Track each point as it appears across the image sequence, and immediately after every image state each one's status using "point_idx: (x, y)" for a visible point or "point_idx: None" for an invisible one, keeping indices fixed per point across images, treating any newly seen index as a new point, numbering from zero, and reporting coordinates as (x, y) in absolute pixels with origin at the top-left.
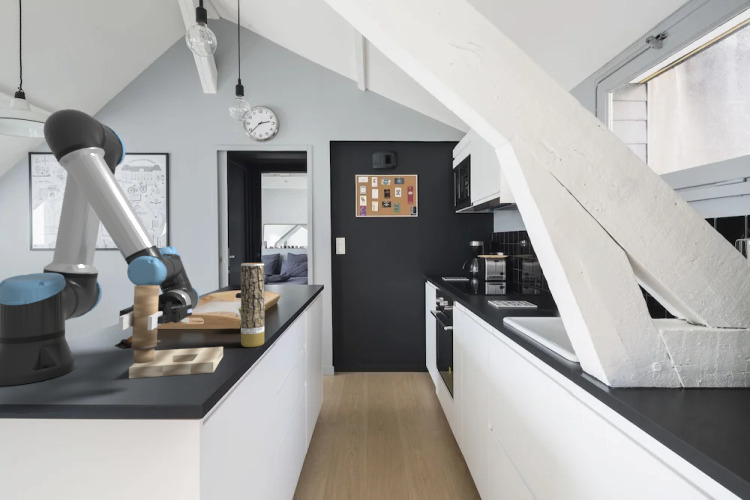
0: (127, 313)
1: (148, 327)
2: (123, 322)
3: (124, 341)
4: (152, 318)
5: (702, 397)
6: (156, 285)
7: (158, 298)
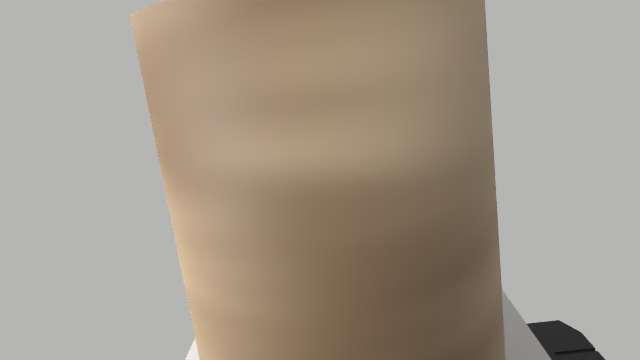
0: (511, 306)
1: None
2: None
3: None
4: None
5: None
6: (171, 1)
7: (172, 223)
